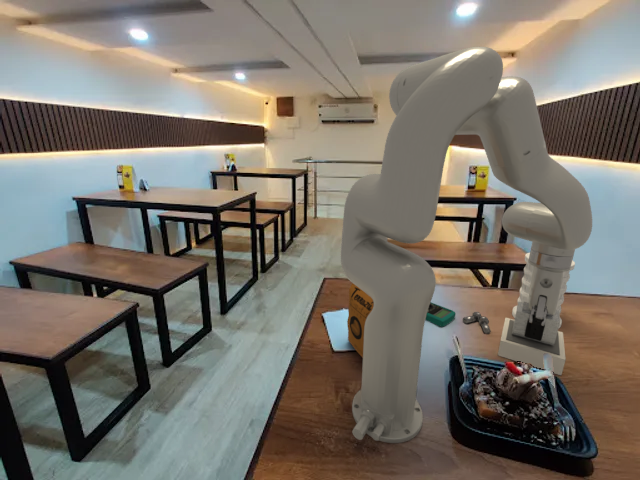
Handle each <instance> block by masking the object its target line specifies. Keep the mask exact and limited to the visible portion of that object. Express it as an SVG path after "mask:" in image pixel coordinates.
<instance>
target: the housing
mask: <svg viewBox="0 0 640 480" xmlns="http://www.w3.org/2000/svg"><path fill="white" fill-rule="evenodd" d="M517 305H518V306H517ZM517 305H516V306H517V310H516V315H515V318H514V319H513V320H514V325H513V331H512V334H514V335H518V336H521V337H525V330H526V326H527V321H528V320H529V319H530V314H531V310H530V309H529V303H527V302H517ZM534 309H537V307H535V306H534ZM544 311H545V309H544ZM534 315H536V312H534ZM534 315H533V316H534ZM560 315H561V313H560V314H559V311H557V310H556V312H555V315H551V314H548V310H547V314H546V319H545V323H544V324H545V328H544V332H543V336H542V340H541V341H539V342H542V343H546V344H549V345H553V346H554V344H555V340H556V336H557V332H558V331H559V329H560V328H559V325H560V318H561V317H560ZM558 328H559V329H558ZM525 338H528V337H525ZM528 339H531V338H528ZM532 340H535V339H532ZM535 341H538V340H535Z"/></svg>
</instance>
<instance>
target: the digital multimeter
mask: <svg viewBox="0 0 640 480" xmlns="http://www.w3.org/2000/svg"><path fill="white" fill-rule="evenodd" d="M455 318H456V312H455V311H454V310H453V309H451V308H450V309H449V308H447V307H444V306H441V305H439V304H437V303H433V302H432V301H431V302H430V305H429V308H428V311H427V314H426V318H425V321H427V322H429V323H432V324H434V325H435V326H438V327H440V328H444V327H446V326H447V325H449V324H450V323H451V322H453V320H455Z"/></svg>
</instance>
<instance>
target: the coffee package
mask: <svg viewBox="0 0 640 480" xmlns="http://www.w3.org/2000/svg"><path fill="white" fill-rule="evenodd" d="M373 307H374V302H373V299H372V298H371V297H370V296H369V295H367V294H366V293H365V292H364V291H363V290H361V289H360V288H359V287H357V286H356V285H354V284H353V283H352V282H351V285H350V287H349V288H348V309H347V311H348V318H347V319H346V322H347V333H348V334H347V336H348V337H347V341H348V342H349V343H350V345H352V347H353V349H354V350H355V351H356V352H357V353H358V355H360V357H361V358H362V359H363V346H364V326H365V321H366V319H367V317H368V315H369V314H370V312H371V311H372V309H373Z"/></svg>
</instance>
